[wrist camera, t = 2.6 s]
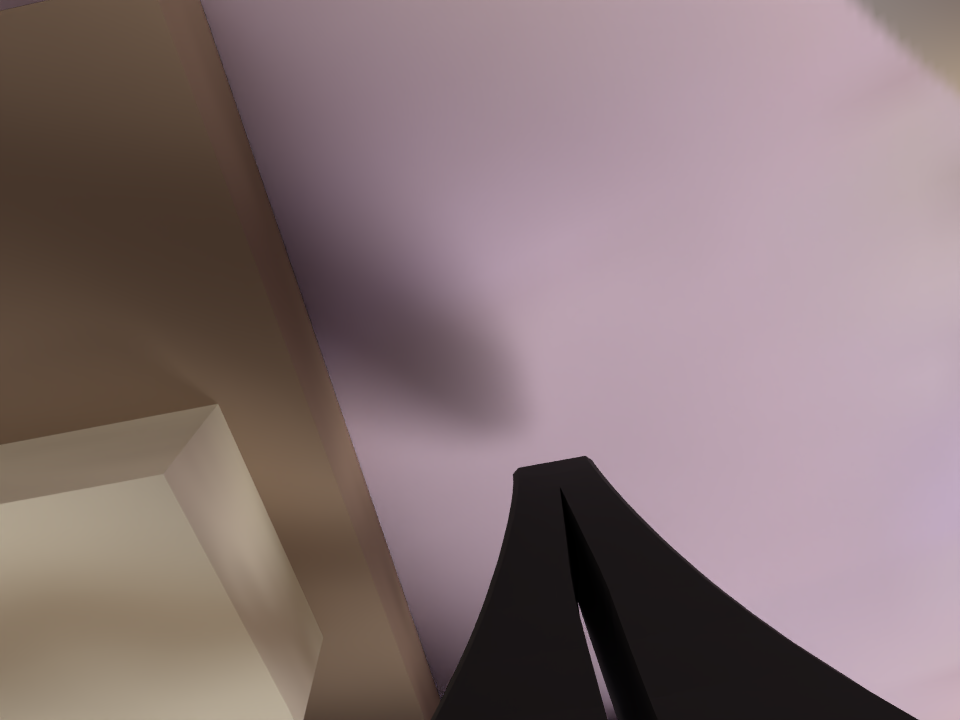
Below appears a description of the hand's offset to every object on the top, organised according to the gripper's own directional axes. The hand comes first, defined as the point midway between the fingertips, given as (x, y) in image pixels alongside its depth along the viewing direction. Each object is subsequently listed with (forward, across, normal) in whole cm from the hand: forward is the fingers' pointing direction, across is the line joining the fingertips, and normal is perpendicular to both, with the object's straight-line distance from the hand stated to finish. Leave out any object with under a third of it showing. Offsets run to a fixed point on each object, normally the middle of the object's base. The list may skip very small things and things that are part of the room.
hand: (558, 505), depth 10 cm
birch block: (+1, +10, 0) cm, 11 cm away
